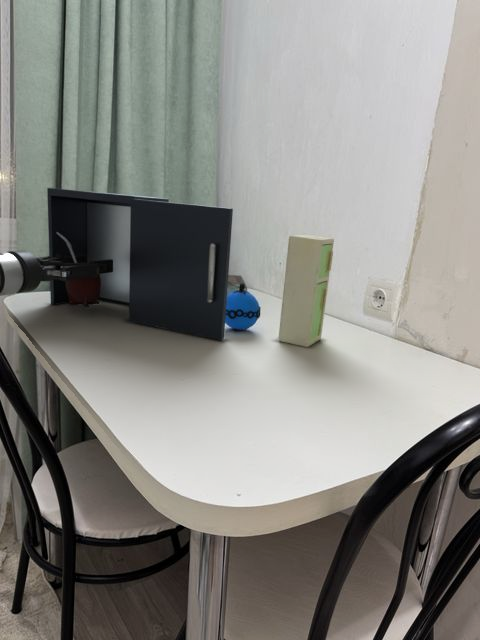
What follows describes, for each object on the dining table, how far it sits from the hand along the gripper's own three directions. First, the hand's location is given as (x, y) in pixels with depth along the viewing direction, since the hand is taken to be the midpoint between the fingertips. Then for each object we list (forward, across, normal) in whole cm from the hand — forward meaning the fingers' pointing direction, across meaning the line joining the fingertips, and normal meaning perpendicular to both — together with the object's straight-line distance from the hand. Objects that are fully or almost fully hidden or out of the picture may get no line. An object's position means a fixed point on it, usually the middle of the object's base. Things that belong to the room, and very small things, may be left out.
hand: (98, 263), depth 111 cm
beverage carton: (+31, -17, +11) cm, 37 cm away
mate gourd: (-5, 0, +9) cm, 10 cm away
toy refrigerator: (+7, -46, +11) cm, 48 cm away
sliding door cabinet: (+2, -11, +11) cm, 15 cm away
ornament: (+6, -32, +11) cm, 34 cm away
